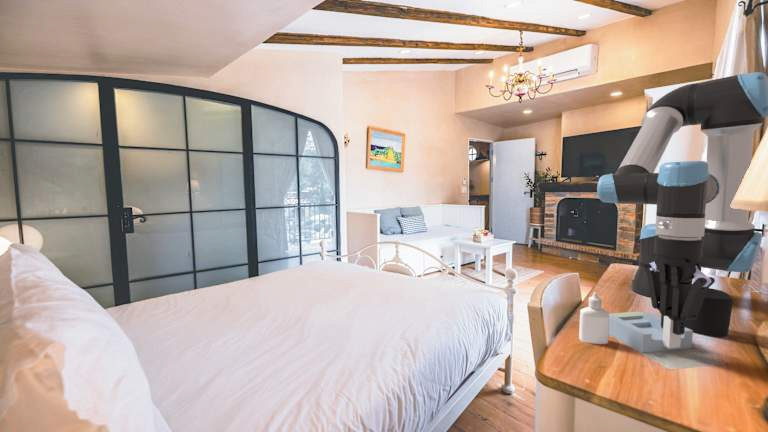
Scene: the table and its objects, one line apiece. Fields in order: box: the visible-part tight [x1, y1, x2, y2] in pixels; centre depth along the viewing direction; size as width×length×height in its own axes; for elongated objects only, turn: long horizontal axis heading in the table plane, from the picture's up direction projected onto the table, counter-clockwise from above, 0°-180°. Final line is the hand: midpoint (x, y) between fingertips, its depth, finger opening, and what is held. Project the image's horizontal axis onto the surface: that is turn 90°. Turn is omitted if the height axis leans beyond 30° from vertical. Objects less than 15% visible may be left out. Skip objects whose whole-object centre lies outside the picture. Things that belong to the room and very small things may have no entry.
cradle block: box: [609, 312, 694, 354], centre depth 75 cm, size 12×10×4 cm
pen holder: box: [685, 287, 734, 338], centre depth 80 cm, size 9×9×10 cm
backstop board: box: [608, 311, 724, 370], centre depth 74 cm, size 13×20×4 cm, turn 7°
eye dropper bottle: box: [578, 291, 610, 345], centre depth 75 cm, size 4×6×12 cm
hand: (671, 346), depth 70 cm, fingers closed
